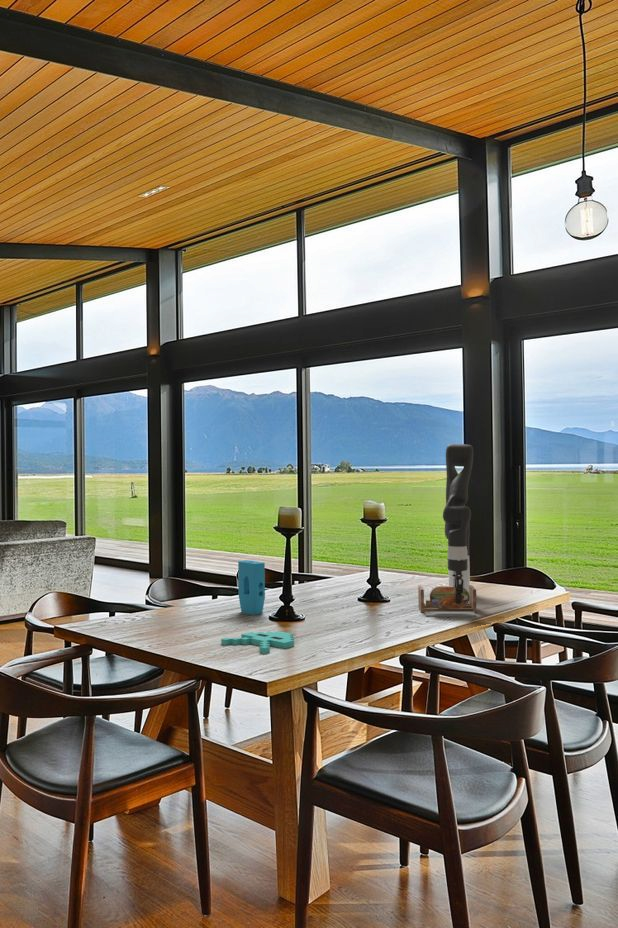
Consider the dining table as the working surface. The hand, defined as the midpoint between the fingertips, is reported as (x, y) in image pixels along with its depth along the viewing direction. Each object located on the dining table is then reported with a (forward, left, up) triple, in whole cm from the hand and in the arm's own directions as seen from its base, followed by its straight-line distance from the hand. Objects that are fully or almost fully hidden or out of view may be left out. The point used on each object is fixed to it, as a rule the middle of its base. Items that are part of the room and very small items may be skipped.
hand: (458, 602), depth 298 cm
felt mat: (0, -3, -5) cm, 6 cm away
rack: (-10, -3, -5) cm, 11 cm away
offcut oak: (-13, -9, -3) cm, 16 cm away
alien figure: (+48, -69, -5) cm, 84 cm away
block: (-4, -80, -5) cm, 80 cm away
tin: (0, -3, -2) cm, 4 cm away
